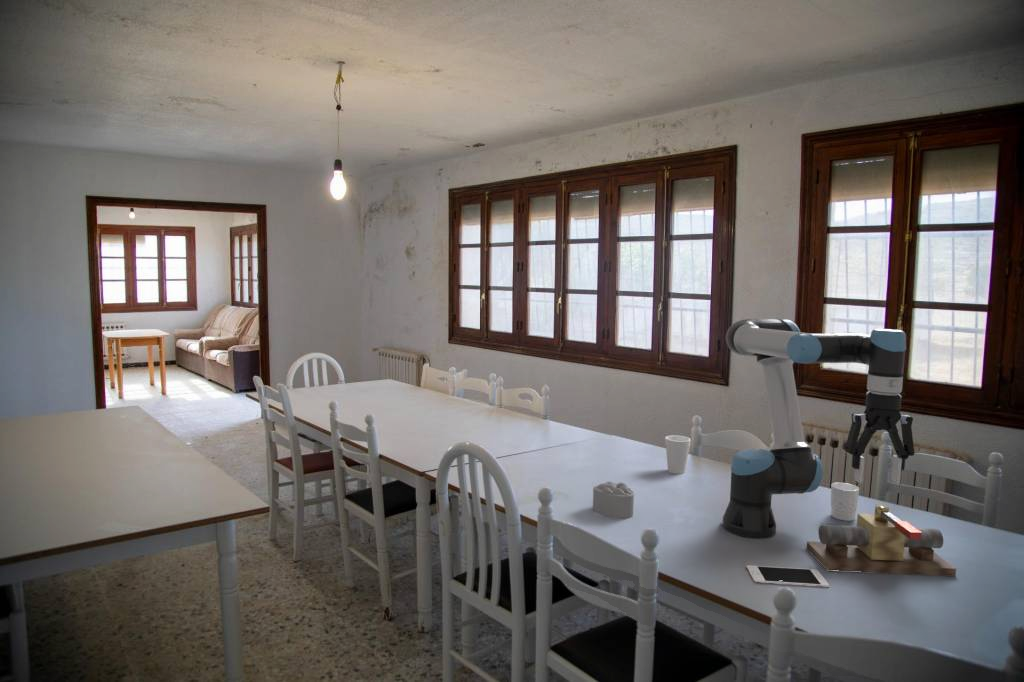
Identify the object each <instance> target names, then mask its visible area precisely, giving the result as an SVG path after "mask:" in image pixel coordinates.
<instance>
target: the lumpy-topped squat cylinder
mask: <svg viewBox="0 0 1024 682" xmlns="http://www.w3.org/2000/svg"><path fill="white" fill-rule="evenodd" d="M592 492H593V493H592V494H593V495H592V496H593V497H592V510H593V512H595V513H597V514H600V515H601V516H605V517H606V518H607V517H609V518H612V519H613V518H614V519H624V520H625V519H630V518H632V517H634V501H635V499H634V498H635V493H634V491H633V490H632V489H631V488H630V487H628V485H627V484H626V483H624V482H619V483H614V482H612V481H606V482H602V483H600V484H598V485H596V486H594V487H593V489H592Z"/></svg>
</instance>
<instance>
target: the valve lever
mask: <svg viewBox="0 0 1024 682" xmlns="http://www.w3.org/2000/svg"><path fill="white" fill-rule="evenodd" d="M874 514H875V517H874V519H876V520H878V521H883V522H887V521H889V522H891V523H892V524H893V525H895V529H897V530H898V531H899V532H901V533H902V534H903V535H905V536H906V537H907V538H909V539H915V540H921V534H922V532H920V531H919V530H917V529H916V528H917V527H915V526H913V525H911V524H910V523H909V522H908V521H906V520H905V521H903V520H901V519H900V518H899V517H897V516H896V515H895V514H894V513H892V512H890V508H889V506H887V505H884V504H876V505H875V506H874Z"/></svg>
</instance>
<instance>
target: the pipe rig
mask: <svg viewBox="0 0 1024 682" xmlns="http://www.w3.org/2000/svg"><path fill="white" fill-rule="evenodd" d="M874 517H875V513H857V518H856V525H840V524H839V525H837V524H836V525H833V524H832V525H831V524H830V525H829V524H821V525H819V527H818V538H819V541H806V549H807V550H808V551H809V553H810V554H811V553H812V554H813V555H814V556H815V557H816V558H817V559H818V560H819V561H820V562H821V563H822V564H823V565H824V566H825V567H826V568H827V569H828V570H839V571H861V572H874V573H873V574H885V573H888V575H890V574H891V575H918V576H944V577H956V576H957V575H956V574H957V568H956V567H955V566H953V565H952V564H950V563H949V562H947V561H946V559H944V558H942V557H941V556H940V555H938V554H937V553H935V549H941V548H942V547H943V546H944V536H943V534H942V532H941V530H940V529H938V528H924V527H923V528H920V527H915V528H916V529H917V530H919V531H920V532H922V534H921V540H915V539H909V538H907V537H906V536H905V535H903V534H902V533H901V532H899V531H898V530H897V529H895V525H893V524H892V523H891V522H889V521H887V522H883V521H878V520H876V519H874ZM812 554H811V555H812ZM813 555H812V556H813ZM814 556H813V557H814ZM815 557H814V558H815ZM816 558H815V559H816ZM817 559H816V560H817ZM818 560H817V561H818ZM819 561H818V562H819ZM820 562H819V563H820ZM821 563H820V564H821ZM822 564H821V565H822ZM823 565H822V566H823ZM824 566H823V567H824Z"/></svg>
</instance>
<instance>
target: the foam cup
mask: <svg viewBox="0 0 1024 682" xmlns="http://www.w3.org/2000/svg"><path fill="white" fill-rule="evenodd" d="M691 441H692V440H691V438H690V437H688V436H683V435H677V434H676V435H667V436H665V439H664V445H665V451H666V453H665V454H666V464H667V471H668V473H671V474H674V475H683V474H685V473H686V472H685V471H686V468H687V464H688V457H689V454H690V446H691Z"/></svg>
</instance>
